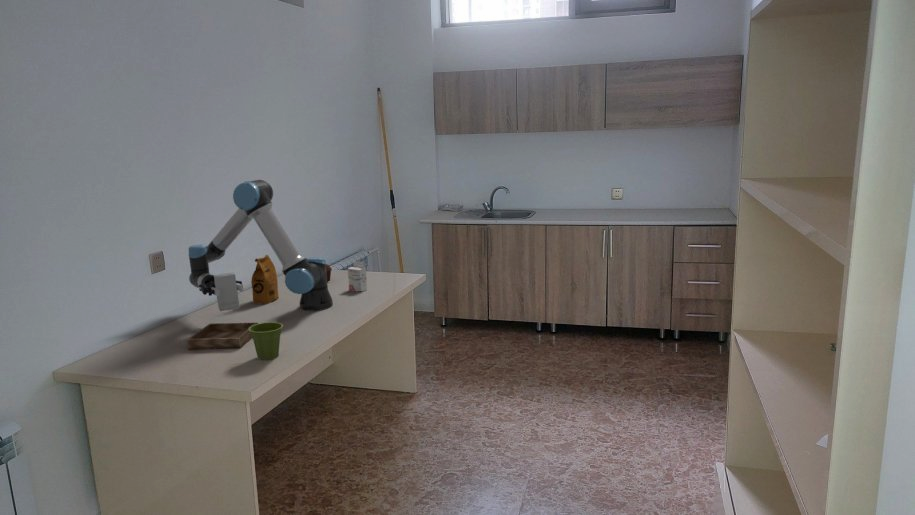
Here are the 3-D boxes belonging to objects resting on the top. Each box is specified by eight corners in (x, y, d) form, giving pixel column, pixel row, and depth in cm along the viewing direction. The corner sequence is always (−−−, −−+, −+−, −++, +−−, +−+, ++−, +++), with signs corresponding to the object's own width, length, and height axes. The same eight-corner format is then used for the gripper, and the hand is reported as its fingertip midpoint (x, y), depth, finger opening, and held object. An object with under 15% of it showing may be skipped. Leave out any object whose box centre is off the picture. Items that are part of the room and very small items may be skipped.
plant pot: (267, 364, 211) (263, 333, 209) (244, 359, 217) (241, 329, 215) (292, 354, 221) (290, 324, 219) (270, 349, 227) (267, 320, 225)
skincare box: (238, 305, 259) (234, 271, 256) (239, 308, 254) (236, 274, 251) (217, 308, 256) (213, 274, 253) (218, 311, 250) (214, 276, 248)
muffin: (327, 284, 326) (325, 266, 324) (308, 284, 328) (306, 265, 327) (335, 279, 338) (334, 261, 336) (317, 278, 340) (316, 261, 338)
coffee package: (249, 303, 292) (245, 259, 288) (264, 297, 304) (260, 254, 299) (268, 304, 289) (263, 259, 285) (282, 297, 301) (278, 254, 297)
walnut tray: (258, 331, 248) (258, 322, 247) (240, 348, 228) (239, 338, 228) (210, 332, 249) (209, 323, 248) (188, 349, 229) (186, 339, 228)
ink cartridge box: (348, 290, 312) (346, 262, 309) (355, 288, 316) (353, 260, 313) (361, 292, 307) (359, 263, 304) (367, 289, 311) (365, 261, 308)
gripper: (234, 286, 274) (256, 294, 258) (185, 296, 260) (205, 305, 243) (232, 270, 273) (255, 276, 256) (182, 279, 258) (202, 287, 242)
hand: (230, 290), depth 250 cm, fingers closed on skincare box, 9 cm apart
